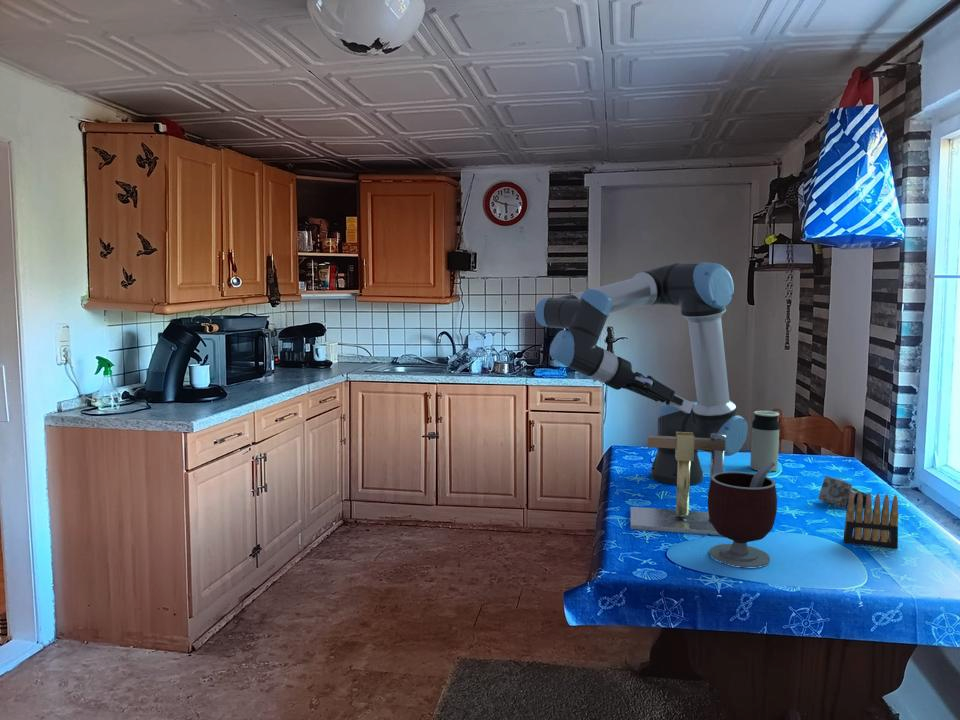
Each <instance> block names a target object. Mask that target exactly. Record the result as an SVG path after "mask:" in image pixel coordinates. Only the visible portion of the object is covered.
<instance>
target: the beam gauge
mask: <svg viewBox="0 0 960 720" xmlns="http://www.w3.org/2000/svg"><path fill="white" fill-rule="evenodd" d="M646 437H647V441H646V445H647V448H657V449H658V448H676V449H677V437H673V436H658V435H652V434H651V435H650V434H649V435H647V436H646ZM725 441H726V435H725V434H721V433H712V434H711V436H710V438H695V437H694V449H696V450H698V451H701V450H711V453H710V469H709V470H710V472H709V483H710V482H711V476H712V475H714V474H716V473H721V472H725V471H724V470H725V469H724V468H725V456H724V451H725ZM630 530H639V531H640V530H641V531H653V532H669V533H679V534H680V533H682V534H693V533H694V534H695V533H696V534H695V535H697V534H698V535H707V536H708V534H710V535H711V536H721V535H720V534H719V533H718V532H717V531H716V530H715V528H714V527H713V525H712V524H711V522H710V518H709V512H708V511H702V510H701V511H699V510H698V511H697V510H689V514H688V515H684V518H680V515H678V514H676V509H671V508H670V509H669V508H655V507H640V506H630Z"/></svg>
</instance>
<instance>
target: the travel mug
mask: <svg viewBox="0 0 960 720" xmlns="http://www.w3.org/2000/svg"><path fill="white" fill-rule="evenodd" d="M753 415H754V419H753V421H751V424H752V425H751V439H750V440H751V442H750V443H751V445H750V465H749V466H750V468H751V469H752V470H754V469H755V470H754V471H757V470H760V469H761V468H763V467H765V466H766V465H768V464H770V463H772V462H773V463H775V466H773V467H772V468H771V469H770V470H769V471H773V472H775V471H777V470H778V466H779V465H778V462H779V447H780V446H779V443H780V441H779V440H780V421H779V420H778V418H779V416H780V413H779V412H776V411H773V410H772V411H771V410H755V411H753Z"/></svg>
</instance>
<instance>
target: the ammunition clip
mask: <svg viewBox="0 0 960 720" xmlns="http://www.w3.org/2000/svg"><path fill="white" fill-rule="evenodd" d="M861 492H862V491H860V492H859V494H858V498H857V504H856V503H854V495H853V492H852V491H851V492H850V494H849V498H848V502H847V507H846V509H845V510H846V512H845V523H844V531H843V532H844V533H843V539H842V541H843V543H844V544H850V545H859V546H868V547H876V548H888V549H894V550H895V549H896V550H897V549H898V548H899V547H898V546H899V538H898V537H899V500H898V496H897V494H894V496H893V498H892V501H891V508H890V497H889V495H888V493H886V494H885V496H884V499H883V502H882V510H881V497H880V494H879V492H878V493H876V495H875V498H874V505H873V507H872V501H873V499H872V495H871V492H868V493H867V498H866V504H865V506H864V505H863V497H862V493H861ZM872 508H873V509H872ZM890 509H891V510H890Z"/></svg>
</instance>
